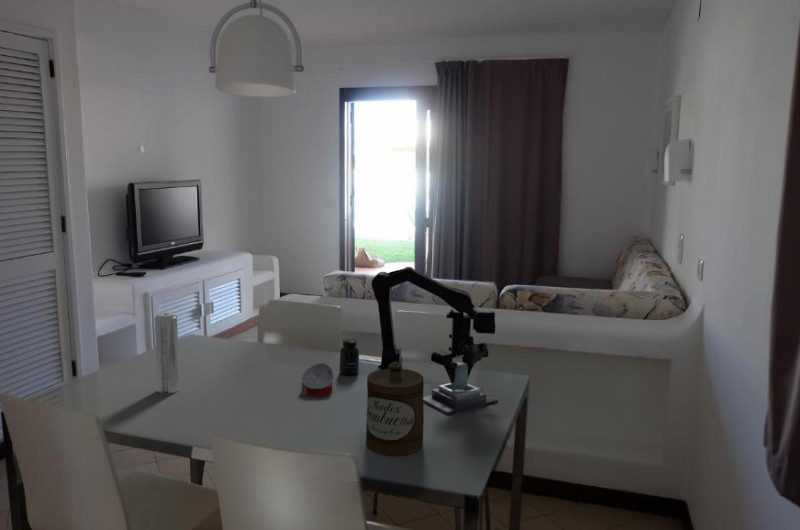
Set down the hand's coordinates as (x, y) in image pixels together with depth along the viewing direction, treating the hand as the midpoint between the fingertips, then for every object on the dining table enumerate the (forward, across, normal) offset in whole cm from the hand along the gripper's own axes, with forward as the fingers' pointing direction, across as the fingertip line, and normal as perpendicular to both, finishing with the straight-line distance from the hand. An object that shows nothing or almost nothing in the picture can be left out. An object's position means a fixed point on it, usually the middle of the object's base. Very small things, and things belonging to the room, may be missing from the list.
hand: (459, 381), depth 190 cm
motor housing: (+6, 0, 0) cm, 6 cm away
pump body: (+2, 0, 0) cm, 2 cm away
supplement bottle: (+7, -16, +41) cm, 45 cm away
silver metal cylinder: (+7, -74, +55) cm, 92 cm away
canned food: (+7, -34, +30) cm, 46 cm away
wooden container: (+7, -34, -15) cm, 38 cm away
